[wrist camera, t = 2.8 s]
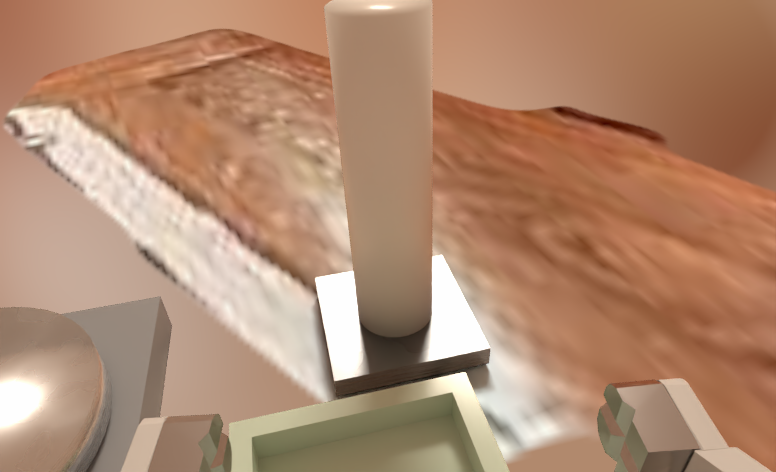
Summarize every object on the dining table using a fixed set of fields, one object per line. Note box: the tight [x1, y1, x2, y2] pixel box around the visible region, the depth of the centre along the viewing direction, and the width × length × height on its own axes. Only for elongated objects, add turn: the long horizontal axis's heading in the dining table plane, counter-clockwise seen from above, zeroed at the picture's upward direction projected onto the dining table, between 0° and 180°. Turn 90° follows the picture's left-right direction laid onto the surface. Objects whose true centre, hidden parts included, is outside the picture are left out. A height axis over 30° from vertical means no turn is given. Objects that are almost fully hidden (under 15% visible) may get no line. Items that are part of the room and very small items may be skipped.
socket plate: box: [315, 255, 490, 396], centre depth 26 cm, size 7×7×1 cm
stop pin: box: [324, 0, 432, 337], centre depth 22 cm, size 4×4×14 cm
